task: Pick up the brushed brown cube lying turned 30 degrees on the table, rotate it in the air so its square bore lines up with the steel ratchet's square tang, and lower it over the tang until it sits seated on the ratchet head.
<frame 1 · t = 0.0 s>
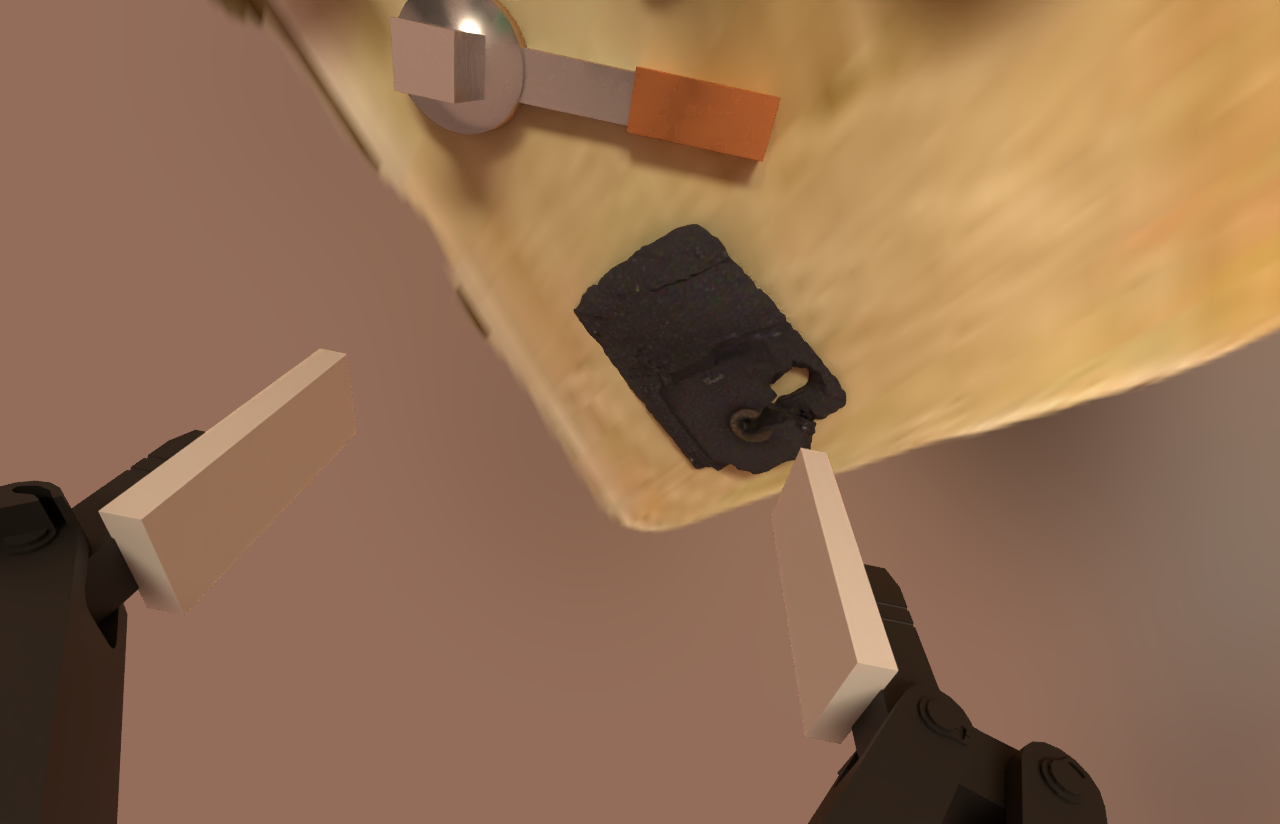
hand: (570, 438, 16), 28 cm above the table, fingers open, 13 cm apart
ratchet: (469, 62, 35), on the table
dark slate chunk: (711, 354, 45), on the table
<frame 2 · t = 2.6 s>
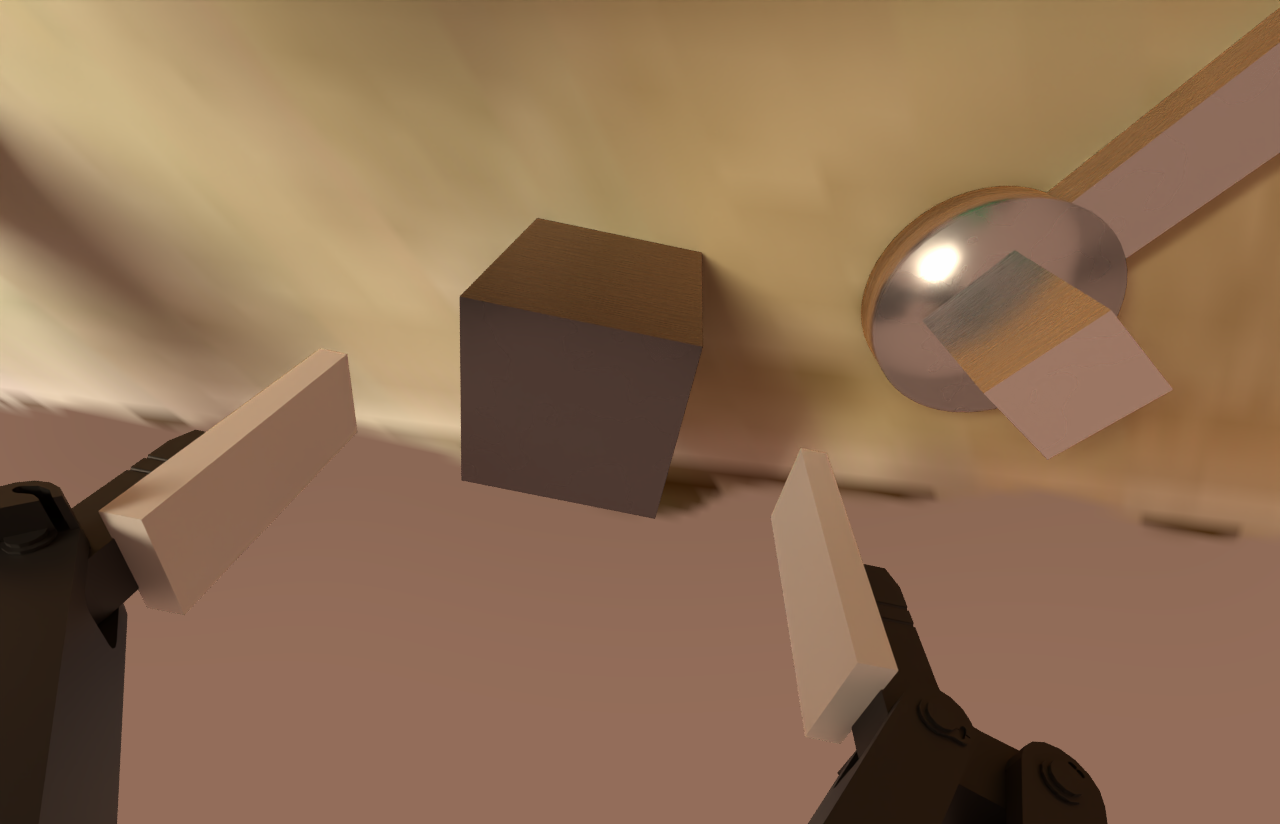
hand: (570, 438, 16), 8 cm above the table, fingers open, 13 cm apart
brushed brown cube: (607, 311, 22), on the table
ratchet: (970, 296, 21), on the table
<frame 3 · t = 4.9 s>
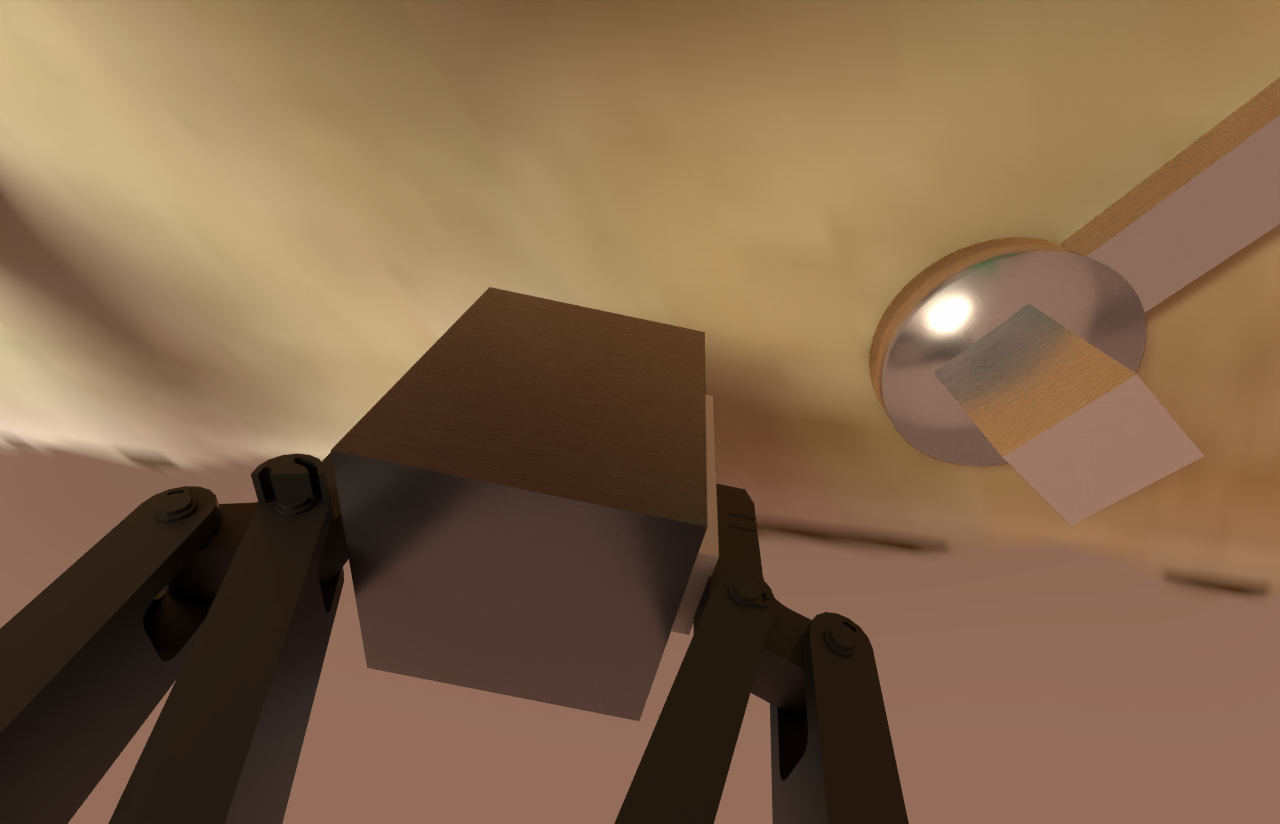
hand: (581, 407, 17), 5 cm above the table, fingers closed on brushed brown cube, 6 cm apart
brushed brown cube: (583, 401, 17), point 5 cm above the table, touching gripper
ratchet: (982, 347, 20), on the table
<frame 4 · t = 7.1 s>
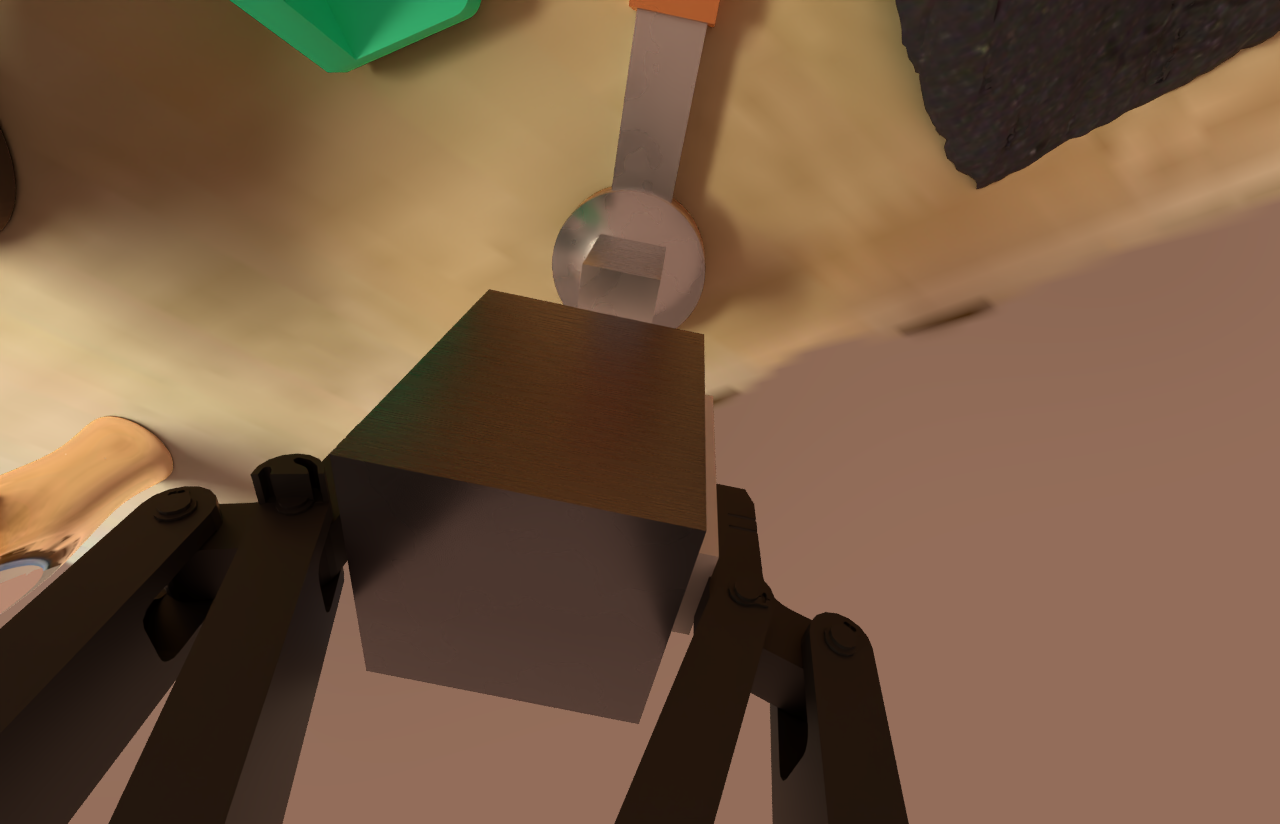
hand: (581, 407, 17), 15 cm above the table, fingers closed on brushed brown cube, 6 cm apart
beer glass: (135, 447, 41), on the table
brushed brown cube: (583, 402, 17), point 15 cm above the table, touching gripper
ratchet: (631, 261, 30), on the table
when the fingers open (3 cm above the table, at t = 9.6 s): brushed brown cube drops 1 cm, resting on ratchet.
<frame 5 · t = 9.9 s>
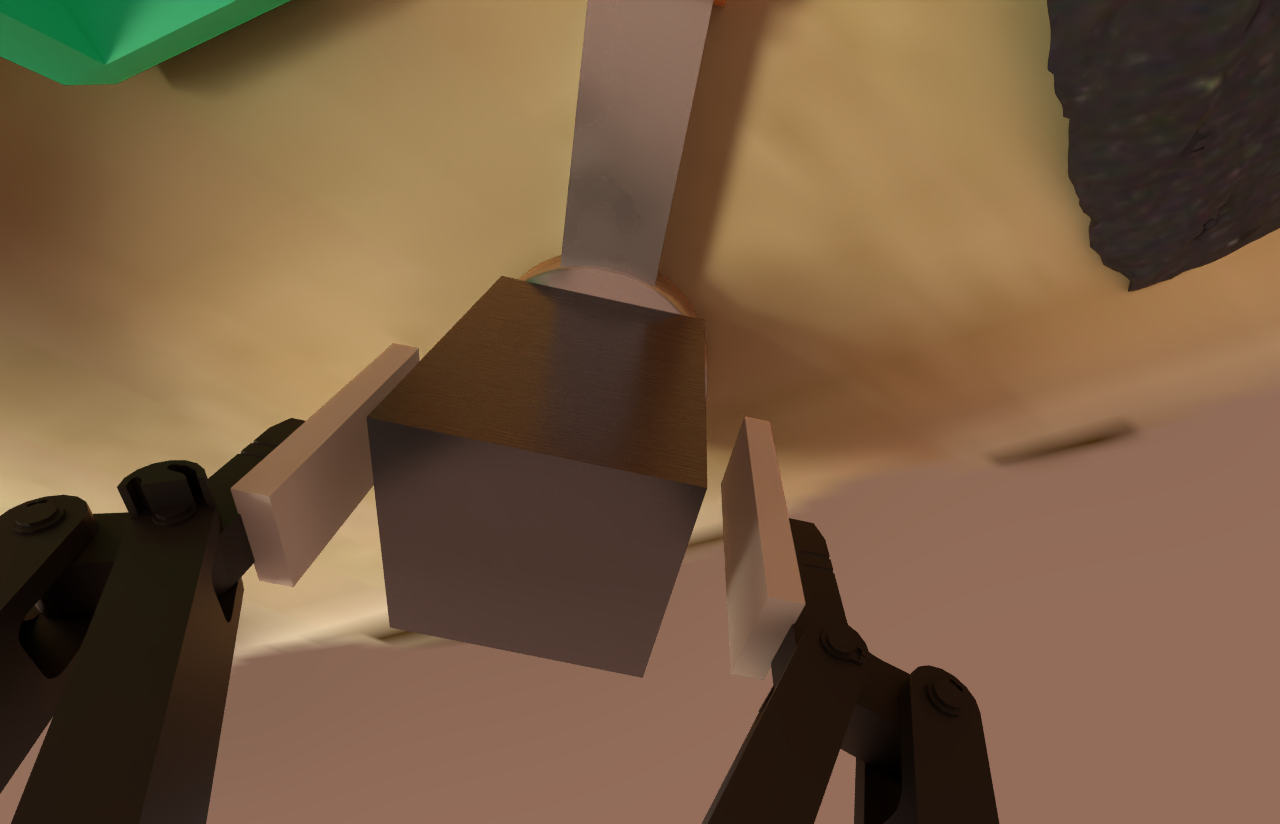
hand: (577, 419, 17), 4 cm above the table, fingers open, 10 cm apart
brushed brown cube: (589, 385, 18), point 2 cm above the table, touching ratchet
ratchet: (598, 358, 20), on the table, touching brushed brown cube
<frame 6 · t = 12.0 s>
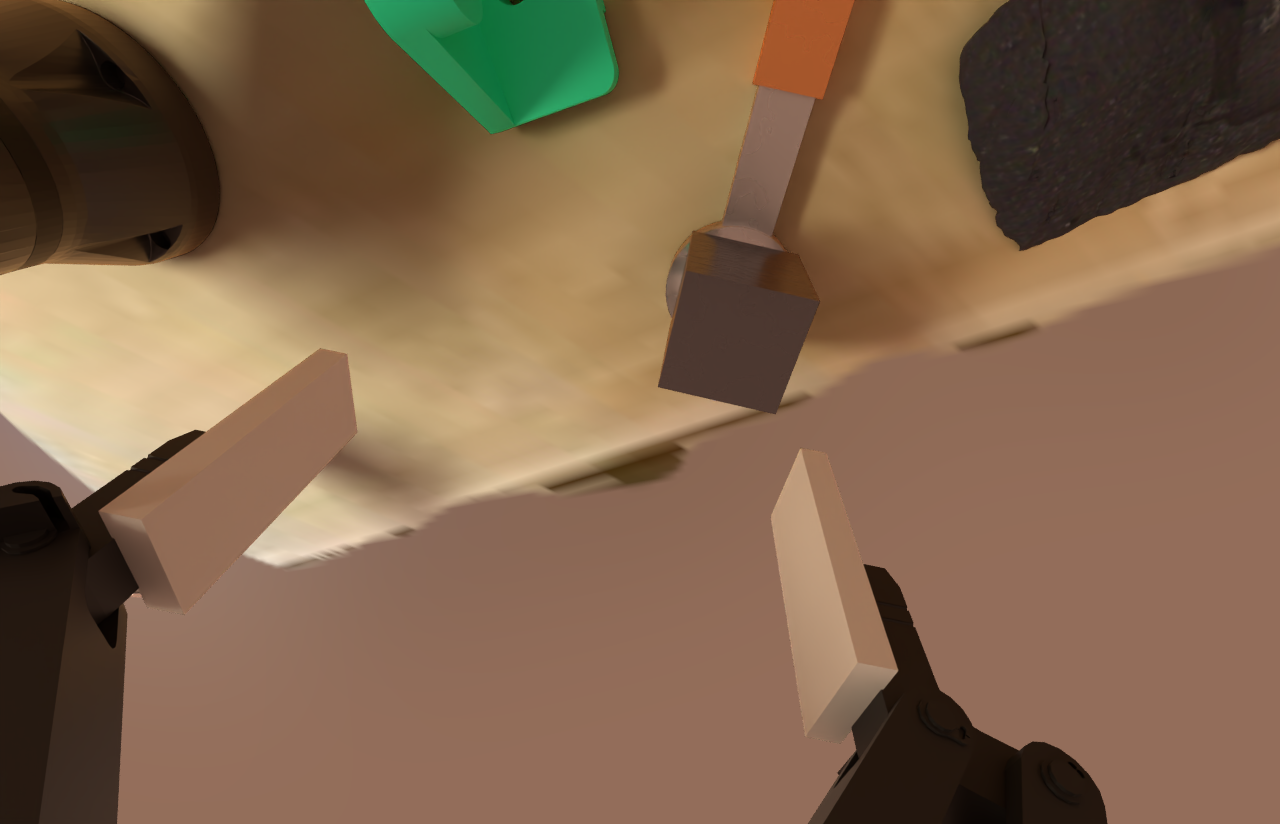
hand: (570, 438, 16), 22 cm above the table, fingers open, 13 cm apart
brushed brown cube: (730, 293, 34), point 2 cm above the table, touching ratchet
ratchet: (729, 283, 35), on the table, touching brushed brown cube
dark slate chunk: (1197, 19, 26), on the table
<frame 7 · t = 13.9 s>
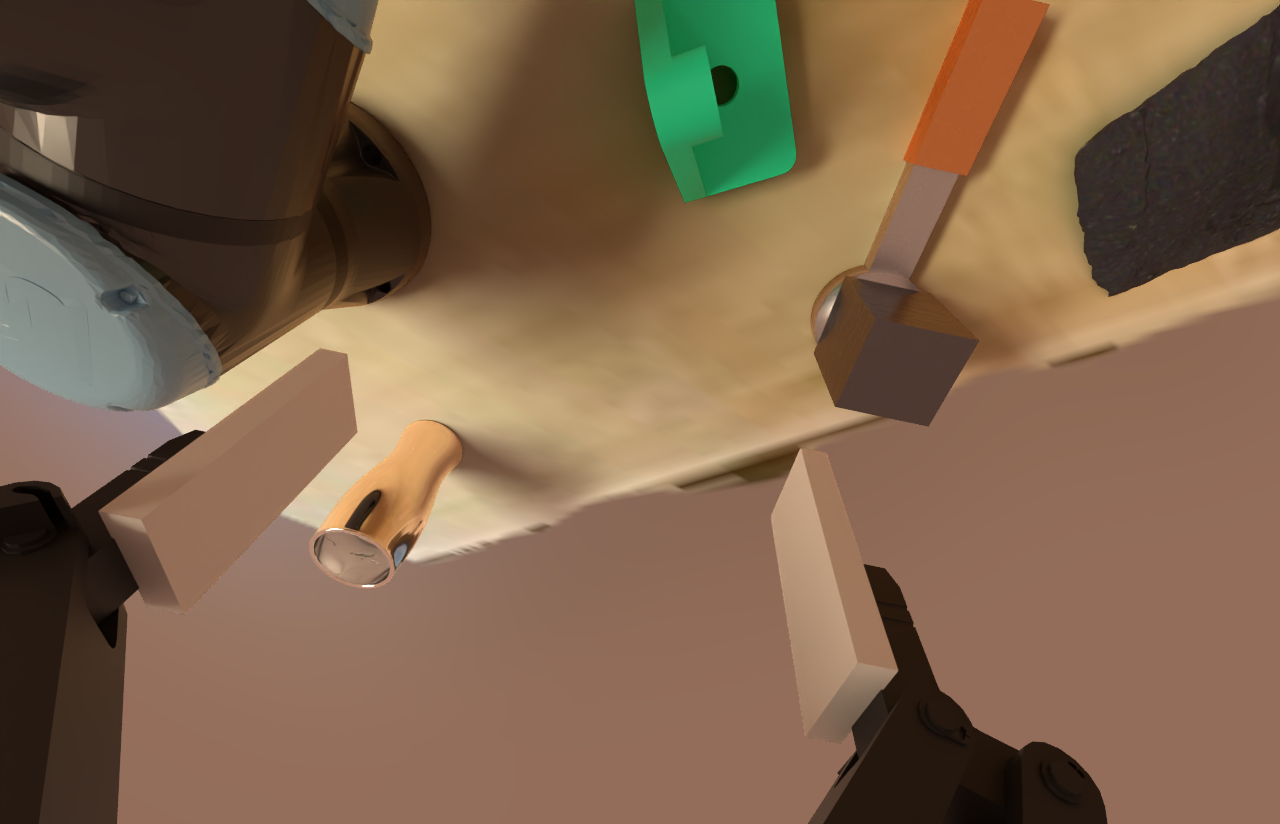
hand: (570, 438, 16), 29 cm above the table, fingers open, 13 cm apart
beer glass: (434, 443, 54), on the table
camera mount: (719, 85, 35), on the table
brushed brown cube: (869, 324, 41), point 2 cm above the table, touching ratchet
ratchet: (863, 314, 42), on the table, touching brushed brown cube
dark slate chunk: (1257, 124, 34), on the table
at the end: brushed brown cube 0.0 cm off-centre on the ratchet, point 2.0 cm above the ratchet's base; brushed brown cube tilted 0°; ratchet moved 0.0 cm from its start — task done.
